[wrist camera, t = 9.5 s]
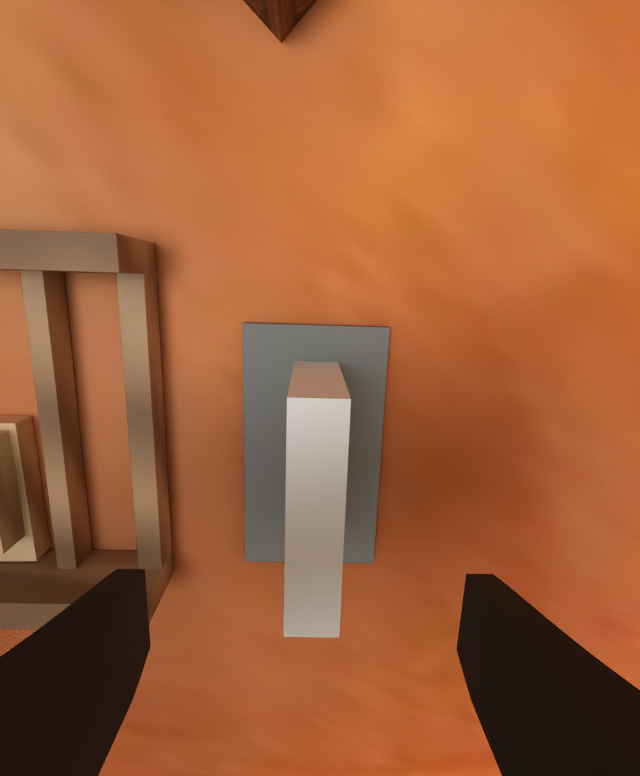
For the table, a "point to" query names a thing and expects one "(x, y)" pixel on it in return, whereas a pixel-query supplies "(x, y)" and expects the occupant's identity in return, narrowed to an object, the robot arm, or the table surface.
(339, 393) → the panel
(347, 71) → the table surface
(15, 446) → the offcut stack
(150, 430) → the rack
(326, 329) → the mat
